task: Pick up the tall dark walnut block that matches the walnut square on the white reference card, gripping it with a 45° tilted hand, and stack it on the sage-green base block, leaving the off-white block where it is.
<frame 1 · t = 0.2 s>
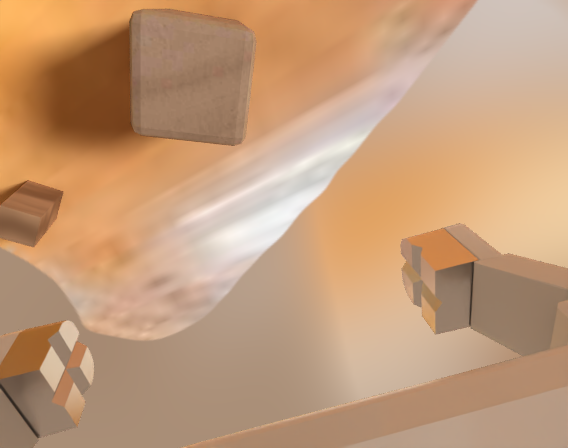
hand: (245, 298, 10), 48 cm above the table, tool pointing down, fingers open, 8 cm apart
walnut block: (42, 199, 57), on the table
block: (201, 58, 51), on the table
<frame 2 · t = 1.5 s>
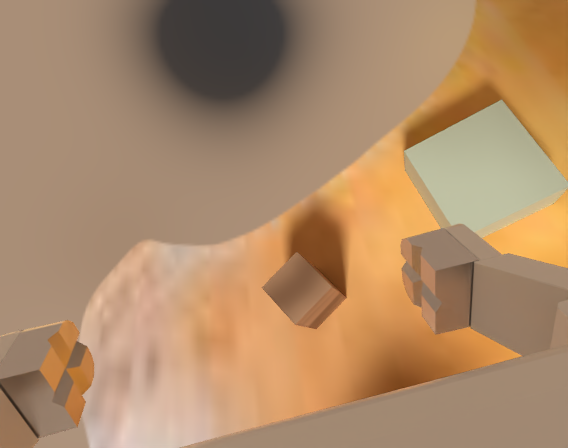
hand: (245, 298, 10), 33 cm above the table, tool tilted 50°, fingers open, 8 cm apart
base block: (474, 186, 42), on the table
walnut block: (316, 297, 43), on the table
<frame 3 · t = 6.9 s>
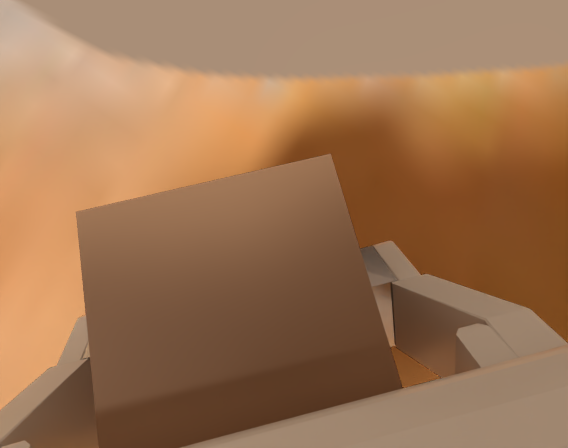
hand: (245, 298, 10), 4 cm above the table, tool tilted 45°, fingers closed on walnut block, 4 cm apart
walnut block: (263, 332, 14), on the table, touching gripper
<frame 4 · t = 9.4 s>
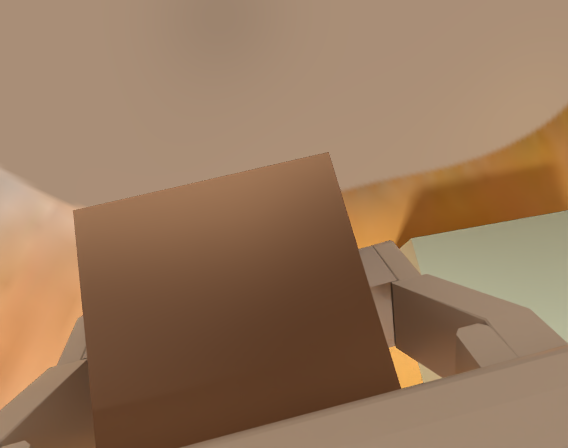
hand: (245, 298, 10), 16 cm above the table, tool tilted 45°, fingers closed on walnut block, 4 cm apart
base block: (483, 319, 26), on the table
walnut block: (262, 331, 14), point 12 cm above the table, touching gripper
when the fingers open (11 cm above the table, at t = 12.2 s): walnut block drops 2 cm, resting on base block.
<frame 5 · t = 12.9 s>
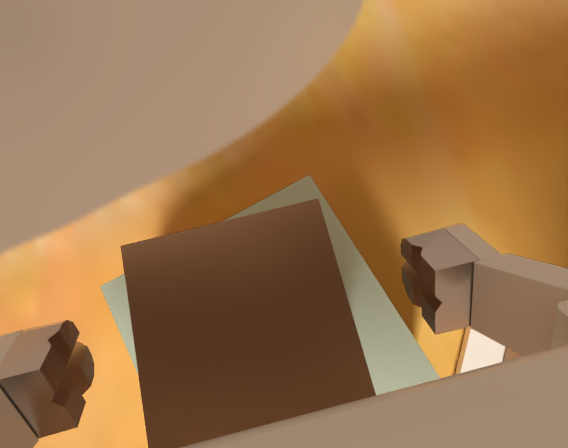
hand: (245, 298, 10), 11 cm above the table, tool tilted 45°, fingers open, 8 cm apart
base block: (270, 337, 21), on the table, touching walnut block
walnut block: (264, 333, 16), point 5 cm above the table, touching base block
reference card: (539, 396, 20), on the table
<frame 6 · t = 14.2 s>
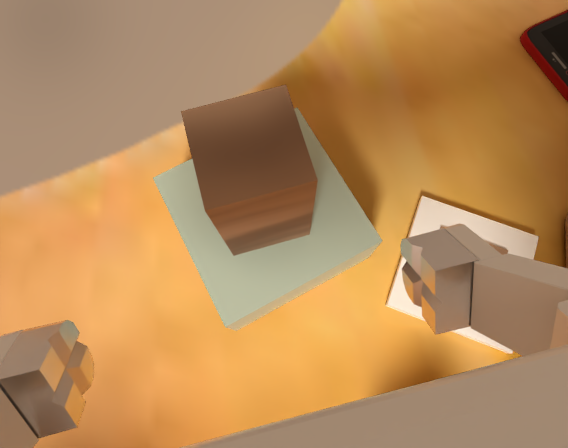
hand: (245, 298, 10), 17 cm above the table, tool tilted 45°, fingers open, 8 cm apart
base block: (268, 231, 29), on the table, touching walnut block
walnut block: (261, 209, 24), point 5 cm above the table, touching base block
reference card: (461, 271, 27), on the table
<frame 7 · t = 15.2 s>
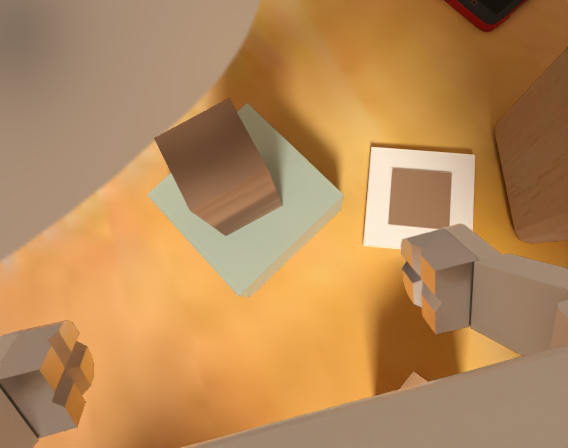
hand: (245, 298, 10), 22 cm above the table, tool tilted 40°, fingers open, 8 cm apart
base block: (254, 210, 34), on the table, touching walnut block
walnut block: (240, 193, 29), point 5 cm above the table, touching base block
wooden block: (564, 177, 32), on the table
reference card: (418, 201, 32), on the table
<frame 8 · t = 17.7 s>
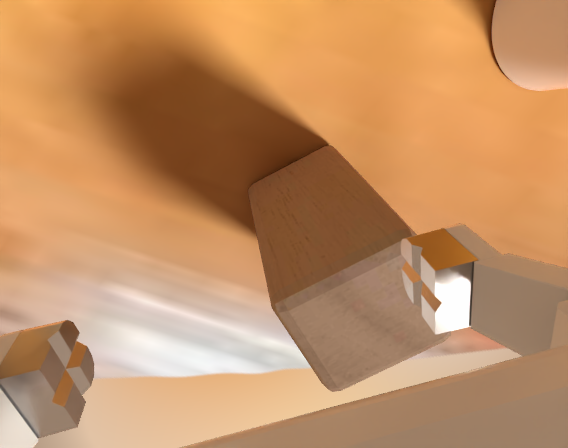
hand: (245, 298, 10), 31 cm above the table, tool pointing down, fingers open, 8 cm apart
block: (306, 200, 44), on the table
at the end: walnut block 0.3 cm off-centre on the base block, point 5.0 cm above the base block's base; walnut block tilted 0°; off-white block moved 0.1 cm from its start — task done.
